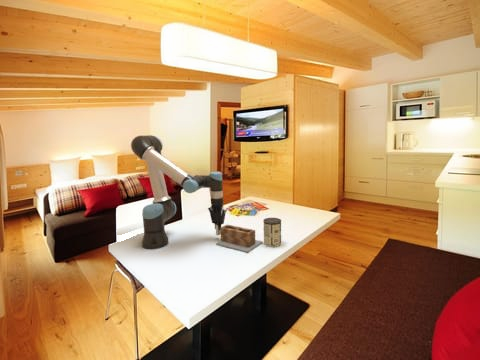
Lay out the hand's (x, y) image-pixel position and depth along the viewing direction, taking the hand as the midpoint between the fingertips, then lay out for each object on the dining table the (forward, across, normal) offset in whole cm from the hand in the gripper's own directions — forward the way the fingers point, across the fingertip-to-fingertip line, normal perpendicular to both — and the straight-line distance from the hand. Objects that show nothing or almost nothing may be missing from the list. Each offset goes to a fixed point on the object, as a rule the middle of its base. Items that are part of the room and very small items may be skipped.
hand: (218, 234), depth 166 cm
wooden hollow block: (+2, +15, 0) cm, 15 cm away
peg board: (+3, +16, 0) cm, 16 cm away
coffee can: (+3, +32, +11) cm, 34 cm away
